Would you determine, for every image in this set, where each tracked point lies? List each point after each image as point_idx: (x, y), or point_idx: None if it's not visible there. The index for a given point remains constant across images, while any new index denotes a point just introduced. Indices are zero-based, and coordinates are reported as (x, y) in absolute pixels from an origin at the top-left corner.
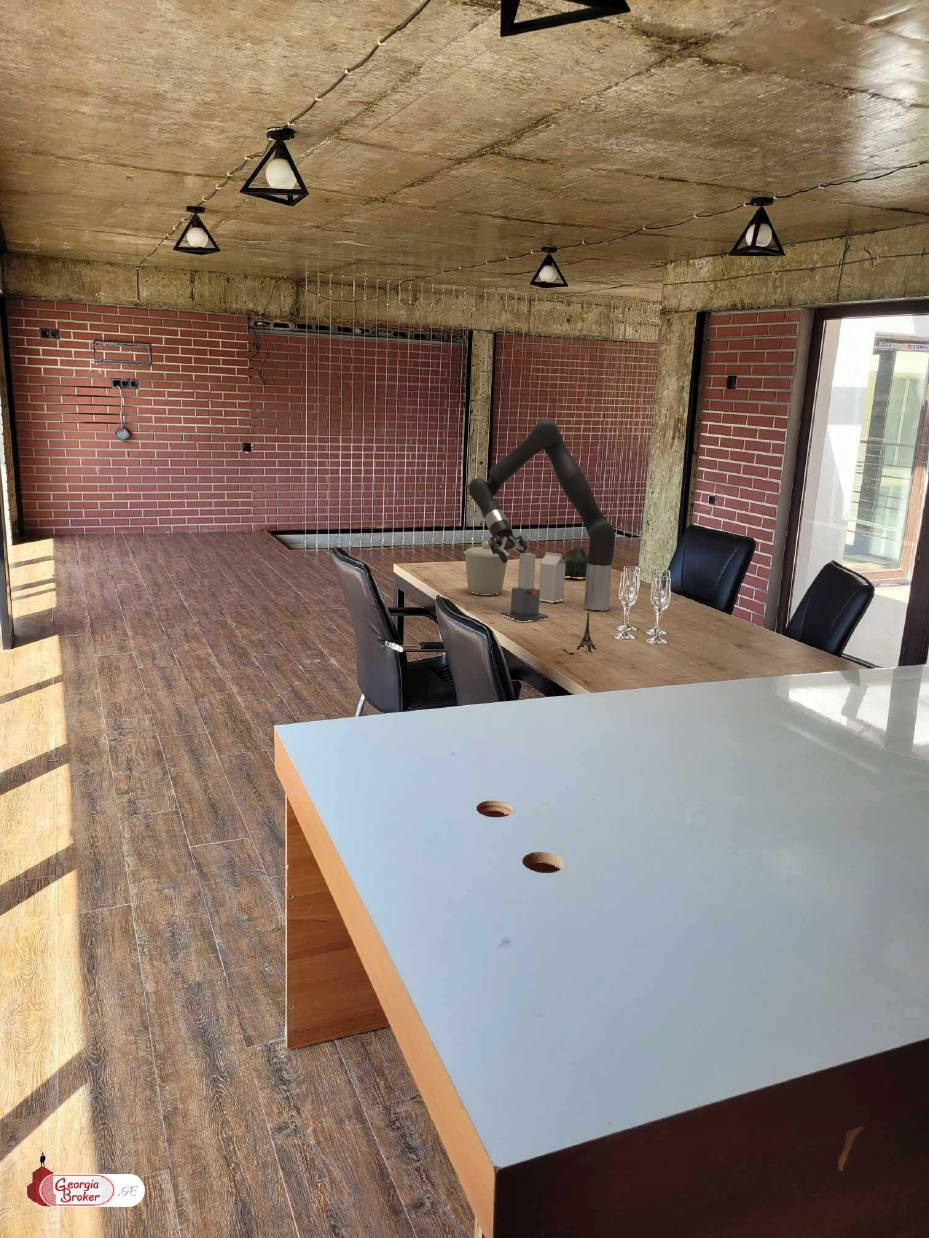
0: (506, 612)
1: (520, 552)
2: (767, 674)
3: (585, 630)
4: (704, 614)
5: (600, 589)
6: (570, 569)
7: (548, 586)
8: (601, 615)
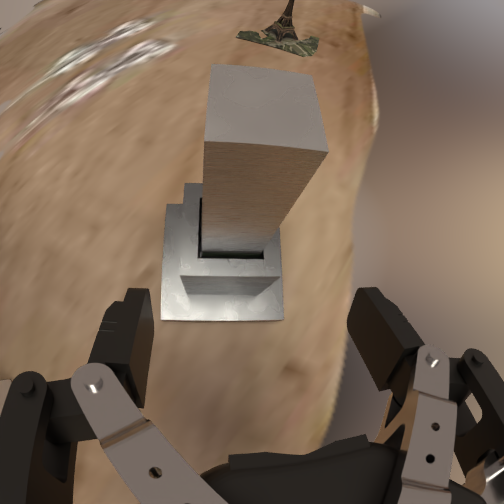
0: (270, 303)
1: (137, 383)
2: None
3: (291, 12)
4: None
5: None
6: None
7: None
8: (11, 195)
